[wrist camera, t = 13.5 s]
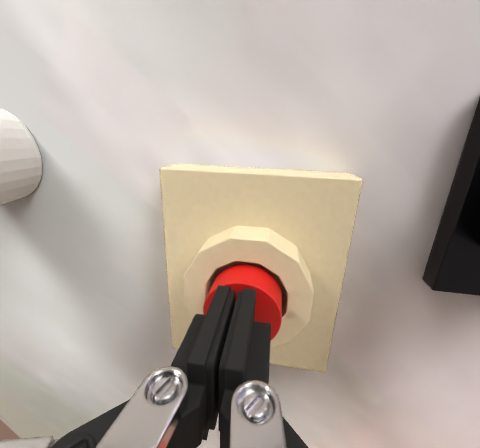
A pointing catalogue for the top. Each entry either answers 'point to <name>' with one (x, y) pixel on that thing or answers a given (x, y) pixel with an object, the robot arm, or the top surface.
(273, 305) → the button
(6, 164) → the coffee cup
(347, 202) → the control box
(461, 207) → the switch bracket
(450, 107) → the top surface
